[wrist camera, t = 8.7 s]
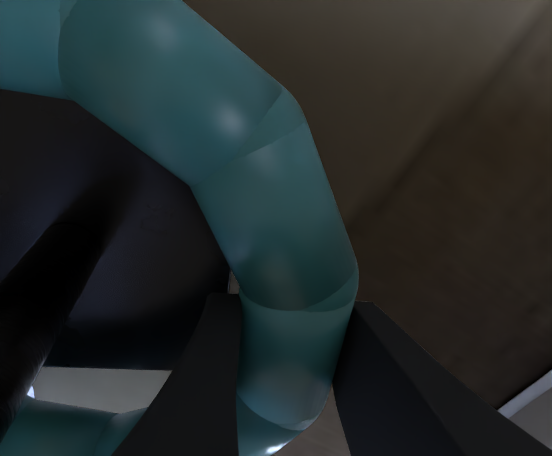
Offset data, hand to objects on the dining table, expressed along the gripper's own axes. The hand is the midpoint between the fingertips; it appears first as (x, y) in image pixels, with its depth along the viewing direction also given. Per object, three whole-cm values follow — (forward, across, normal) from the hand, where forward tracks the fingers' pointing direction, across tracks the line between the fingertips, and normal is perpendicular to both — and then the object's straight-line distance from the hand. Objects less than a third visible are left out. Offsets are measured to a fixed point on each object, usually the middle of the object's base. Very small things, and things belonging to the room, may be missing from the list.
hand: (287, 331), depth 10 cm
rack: (+4, +6, 0) cm, 7 cm away
